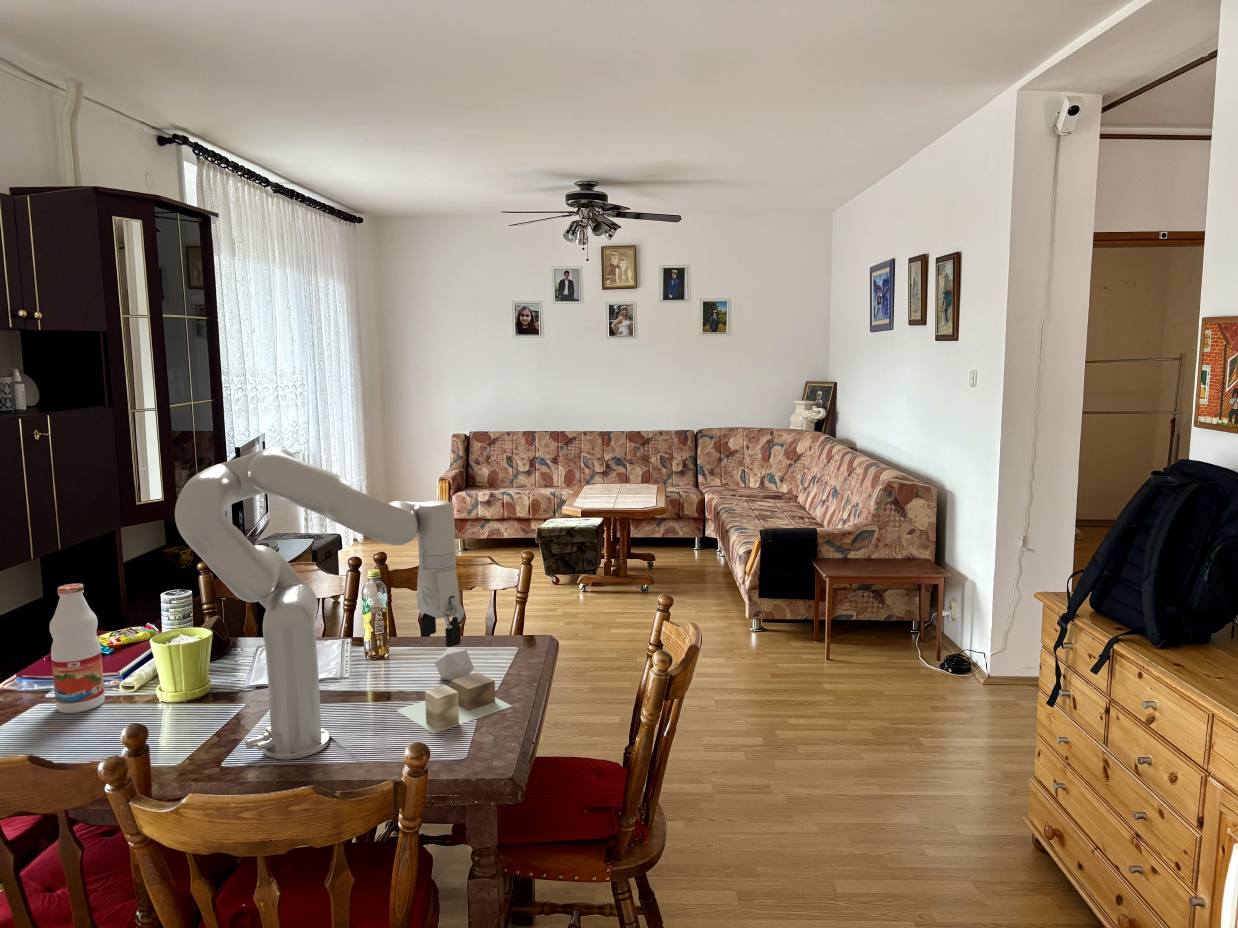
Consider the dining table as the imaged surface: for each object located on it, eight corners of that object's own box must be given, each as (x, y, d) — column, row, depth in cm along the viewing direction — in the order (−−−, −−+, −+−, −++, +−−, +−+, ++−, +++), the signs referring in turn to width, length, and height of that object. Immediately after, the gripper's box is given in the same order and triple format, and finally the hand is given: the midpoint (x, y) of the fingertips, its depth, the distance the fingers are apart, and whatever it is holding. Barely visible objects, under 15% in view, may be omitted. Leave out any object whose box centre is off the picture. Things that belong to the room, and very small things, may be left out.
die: (480, 680, 205) (468, 643, 208) (471, 674, 197) (459, 637, 200) (449, 692, 204) (438, 656, 208) (439, 688, 196) (427, 650, 200)
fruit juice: (109, 694, 195) (99, 578, 191) (99, 710, 186) (89, 589, 183) (62, 700, 192) (52, 582, 188) (50, 716, 183) (39, 593, 179)
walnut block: (468, 710, 183) (468, 688, 182) (451, 701, 188) (451, 680, 187) (495, 701, 187) (494, 680, 187) (478, 692, 192) (477, 672, 192)
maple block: (438, 730, 173) (437, 698, 172) (426, 722, 177) (425, 691, 176) (459, 723, 176) (458, 691, 175) (446, 715, 180) (445, 685, 179)
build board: (433, 737, 172) (433, 733, 172) (396, 714, 183) (395, 709, 183) (512, 710, 185) (512, 705, 185) (472, 689, 197) (472, 685, 197)
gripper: (400, 556, 176) (404, 634, 178) (443, 571, 163) (447, 654, 165) (432, 550, 181) (435, 626, 183) (476, 564, 168) (479, 645, 171)
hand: (441, 639), depth 174 cm, fingers open, 9 cm apart
